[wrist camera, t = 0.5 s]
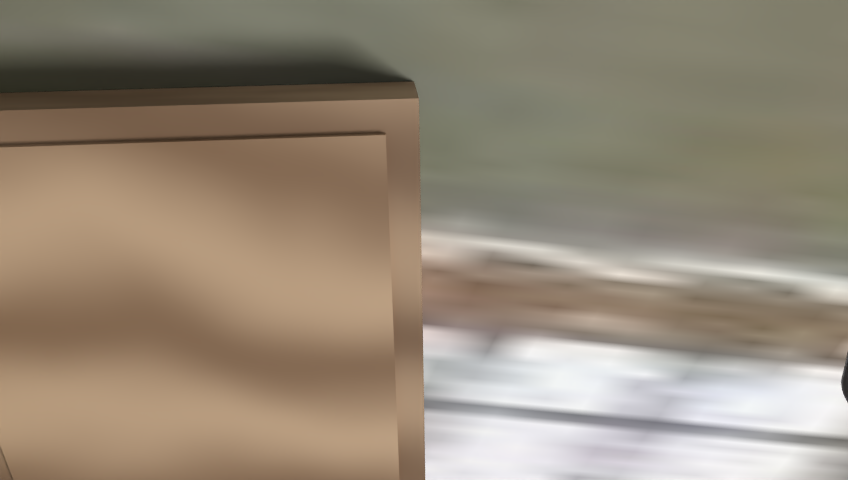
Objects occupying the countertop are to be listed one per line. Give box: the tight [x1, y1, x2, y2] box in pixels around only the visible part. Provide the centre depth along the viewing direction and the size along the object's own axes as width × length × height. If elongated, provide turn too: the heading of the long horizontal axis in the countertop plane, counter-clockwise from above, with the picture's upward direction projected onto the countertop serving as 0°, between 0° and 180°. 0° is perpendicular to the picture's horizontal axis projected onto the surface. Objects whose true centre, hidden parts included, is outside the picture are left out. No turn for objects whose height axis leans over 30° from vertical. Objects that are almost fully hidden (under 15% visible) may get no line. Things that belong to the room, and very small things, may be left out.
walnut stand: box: [0, 82, 425, 480], centre depth 22 cm, size 16×16×3 cm
